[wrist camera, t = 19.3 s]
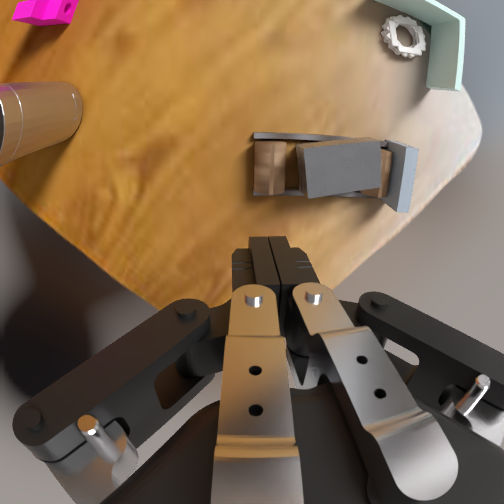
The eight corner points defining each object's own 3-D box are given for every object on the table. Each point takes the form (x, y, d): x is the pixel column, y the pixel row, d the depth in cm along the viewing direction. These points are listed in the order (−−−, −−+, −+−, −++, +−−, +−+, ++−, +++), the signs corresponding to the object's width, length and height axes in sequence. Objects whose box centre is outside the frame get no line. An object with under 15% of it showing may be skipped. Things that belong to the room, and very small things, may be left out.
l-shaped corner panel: (369, -6, 27) (393, -20, 21) (436, 24, 29) (465, 18, 22) (362, 63, 33) (386, 58, 26) (429, 89, 34) (460, 91, 28)
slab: (300, 191, 37) (308, 198, 34) (295, 144, 34) (303, 148, 31) (369, 180, 38) (381, 187, 35) (368, 137, 35) (380, 141, 32)
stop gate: (378, 197, 42) (396, 212, 37) (385, 139, 38) (406, 147, 33) (389, 198, 42) (408, 212, 37) (396, 141, 38) (418, 149, 33)
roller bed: (253, 193, 41) (254, 202, 38) (253, 132, 37) (255, 135, 34) (378, 196, 42) (390, 205, 39) (385, 141, 38) (398, 146, 35)
